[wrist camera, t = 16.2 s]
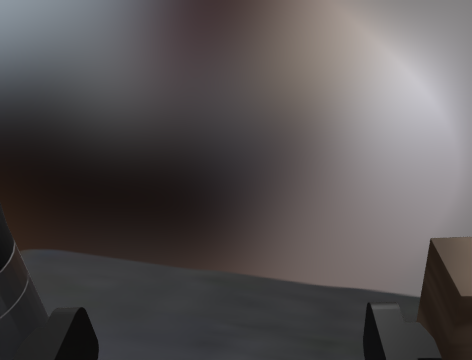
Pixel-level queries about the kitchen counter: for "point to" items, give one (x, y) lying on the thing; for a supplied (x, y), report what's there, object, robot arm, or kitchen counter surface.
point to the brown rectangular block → (448, 297)
